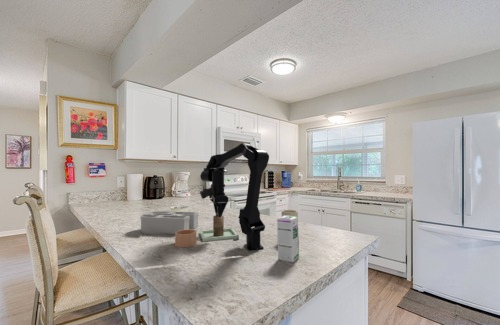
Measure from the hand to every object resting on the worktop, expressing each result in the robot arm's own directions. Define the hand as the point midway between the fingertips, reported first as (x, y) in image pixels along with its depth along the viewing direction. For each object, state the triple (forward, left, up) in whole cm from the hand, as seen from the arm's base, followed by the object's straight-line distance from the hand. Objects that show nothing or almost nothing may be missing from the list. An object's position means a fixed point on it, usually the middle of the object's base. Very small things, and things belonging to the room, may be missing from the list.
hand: (218, 215), depth 107 cm
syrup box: (-34, -19, -10) cm, 40 cm away
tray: (0, 0, -10) cm, 10 cm away
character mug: (-16, -29, -10) cm, 35 cm away
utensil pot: (-7, +15, -10) cm, 19 cm away
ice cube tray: (+21, +23, -11) cm, 33 cm away
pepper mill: (0, 0, -9) cm, 9 cm away
